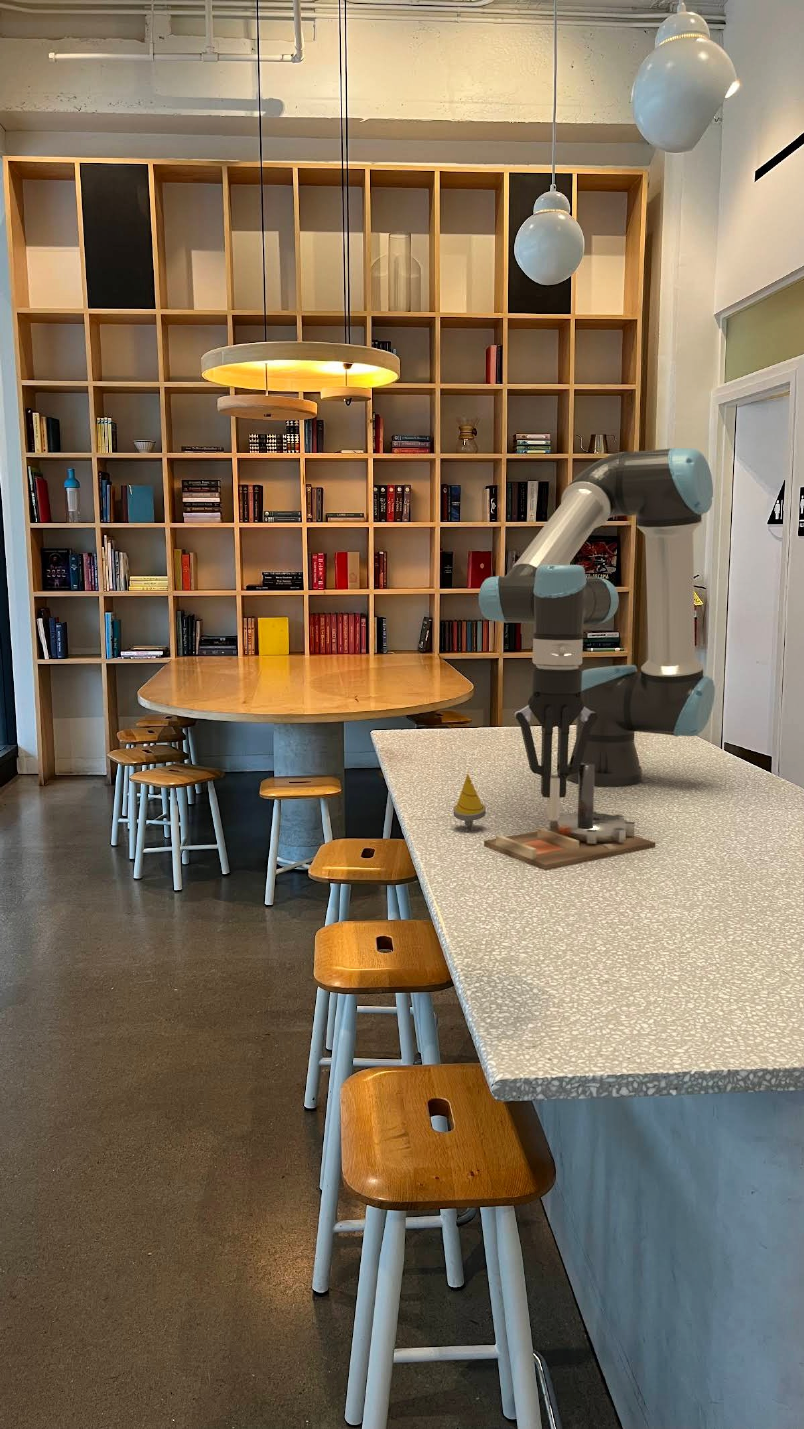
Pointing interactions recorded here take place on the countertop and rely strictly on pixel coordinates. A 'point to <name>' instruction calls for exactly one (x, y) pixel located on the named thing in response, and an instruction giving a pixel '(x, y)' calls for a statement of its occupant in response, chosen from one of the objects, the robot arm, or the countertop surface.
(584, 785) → the sprocket
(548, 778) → the robot arm
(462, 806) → the drill bit
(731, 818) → the countertop surface
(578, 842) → the brown wooden board
